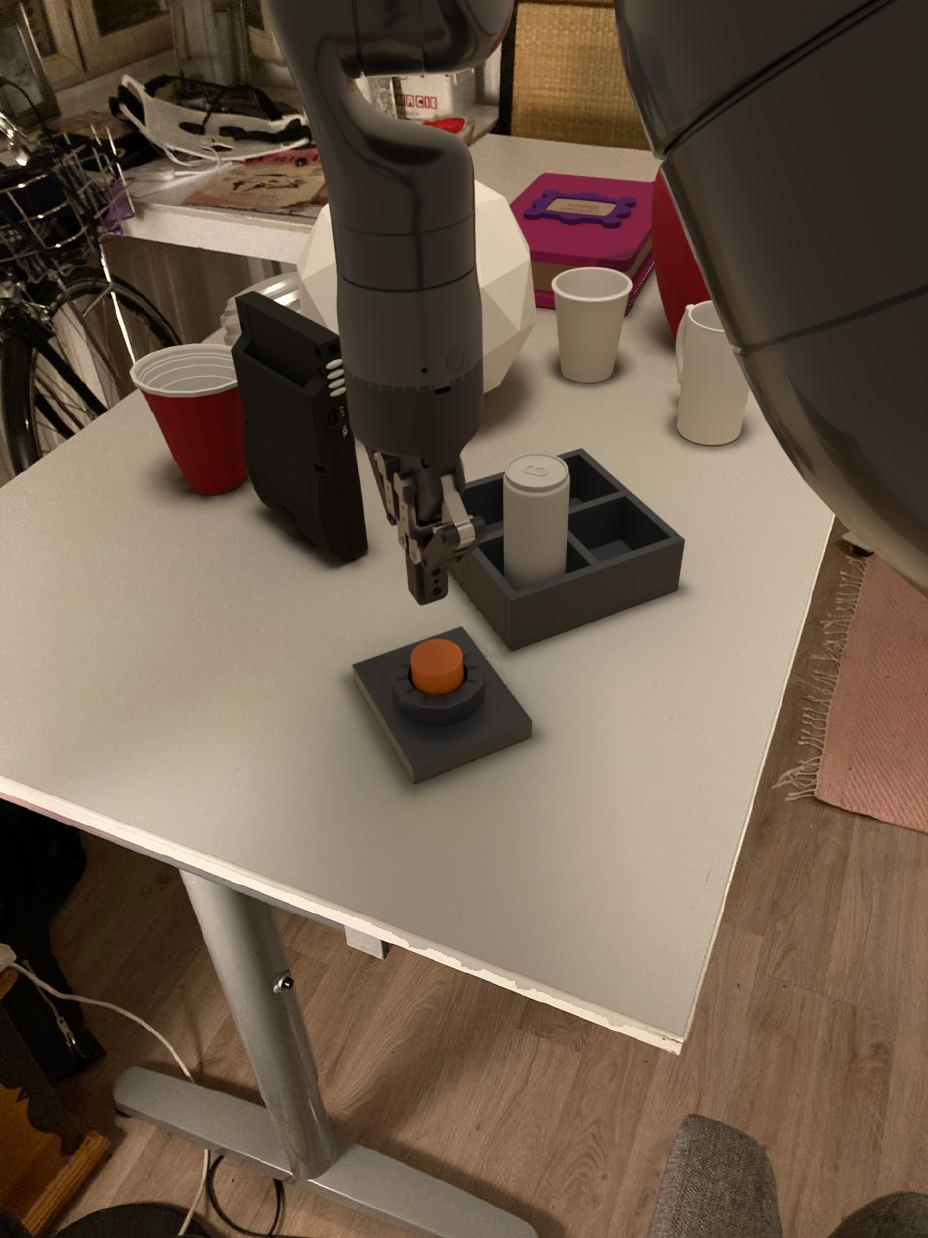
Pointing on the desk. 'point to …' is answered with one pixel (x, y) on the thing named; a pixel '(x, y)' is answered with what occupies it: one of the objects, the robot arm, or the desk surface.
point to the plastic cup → (197, 412)
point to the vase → (673, 259)
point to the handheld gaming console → (298, 425)
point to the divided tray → (572, 557)
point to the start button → (437, 667)
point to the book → (586, 229)
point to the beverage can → (535, 519)
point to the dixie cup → (589, 320)
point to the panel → (441, 710)
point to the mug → (708, 379)
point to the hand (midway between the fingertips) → (428, 595)
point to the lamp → (497, 271)
